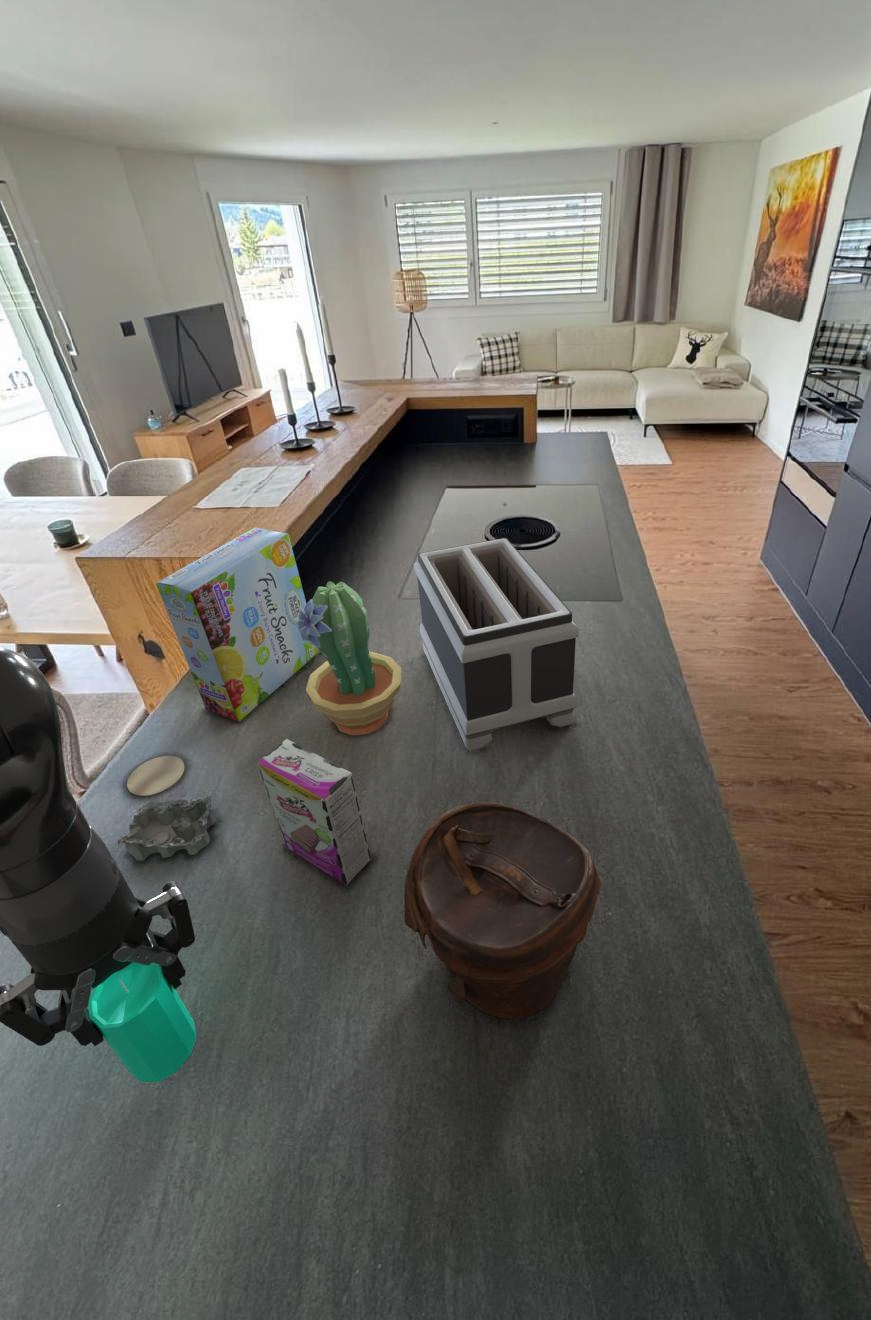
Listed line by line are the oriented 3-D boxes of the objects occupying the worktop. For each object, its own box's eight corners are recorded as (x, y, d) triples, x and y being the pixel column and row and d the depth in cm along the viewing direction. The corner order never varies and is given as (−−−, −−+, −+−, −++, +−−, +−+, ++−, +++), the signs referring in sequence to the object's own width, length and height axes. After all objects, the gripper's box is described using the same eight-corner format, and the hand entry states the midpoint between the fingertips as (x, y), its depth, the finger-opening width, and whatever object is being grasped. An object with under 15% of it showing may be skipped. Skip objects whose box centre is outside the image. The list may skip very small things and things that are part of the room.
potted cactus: (311, 699, 108) (280, 573, 94) (398, 679, 111) (380, 555, 98) (319, 759, 95) (284, 624, 82) (416, 735, 99) (399, 601, 85)
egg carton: (123, 864, 81) (111, 844, 78) (146, 817, 87) (135, 797, 85) (205, 857, 81) (196, 836, 79) (222, 811, 87) (214, 791, 85)
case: (423, 883, 77) (407, 782, 67) (585, 884, 76) (593, 781, 66) (402, 1044, 62) (378, 944, 52) (604, 1047, 61) (618, 946, 51)
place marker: (116, 796, 91) (116, 795, 90) (143, 756, 97) (143, 755, 97) (169, 796, 90) (169, 795, 90) (193, 756, 97) (192, 755, 97)
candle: (208, 1044, 59) (170, 977, 52) (143, 1099, 55) (94, 1035, 49) (180, 999, 62) (141, 931, 56) (118, 1048, 59) (69, 982, 52)
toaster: (504, 620, 127) (501, 525, 115) (576, 726, 99) (582, 616, 88) (417, 638, 122) (405, 542, 111) (467, 755, 95) (458, 643, 83)
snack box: (286, 644, 122) (255, 524, 109) (321, 654, 119) (293, 532, 105) (201, 710, 106) (151, 580, 92) (238, 724, 103) (193, 590, 89)
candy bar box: (284, 850, 81) (254, 761, 73) (311, 823, 85) (286, 735, 76) (346, 890, 76) (322, 799, 67) (373, 859, 80) (353, 769, 71)
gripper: (145, 809, 52) (200, 923, 61) (-66, 922, 44) (34, 1035, 53) (178, 865, 47) (233, 980, 56) (-51, 1003, 39) (56, 1111, 48)
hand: (136, 1006), depth 55 cm, fingers closed on candle, 6 cm apart
